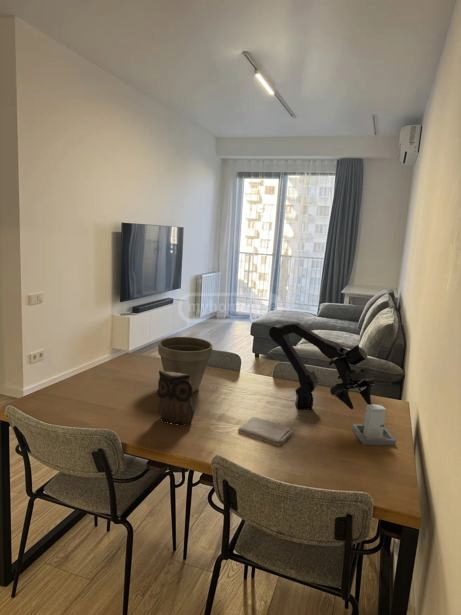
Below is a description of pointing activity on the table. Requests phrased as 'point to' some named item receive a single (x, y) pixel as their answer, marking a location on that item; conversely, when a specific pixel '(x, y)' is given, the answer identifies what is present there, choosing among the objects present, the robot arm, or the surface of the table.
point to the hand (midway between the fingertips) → (361, 407)
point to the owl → (175, 398)
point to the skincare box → (374, 421)
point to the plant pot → (185, 357)
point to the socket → (373, 441)
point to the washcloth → (266, 430)
